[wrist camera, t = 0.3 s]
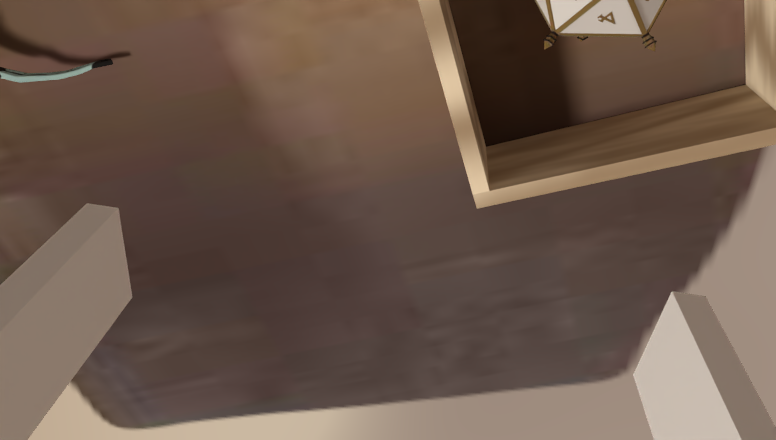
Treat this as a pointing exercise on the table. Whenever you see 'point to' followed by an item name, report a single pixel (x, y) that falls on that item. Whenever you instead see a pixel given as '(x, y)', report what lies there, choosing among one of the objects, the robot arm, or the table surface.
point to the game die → (600, 18)
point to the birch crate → (610, 123)
